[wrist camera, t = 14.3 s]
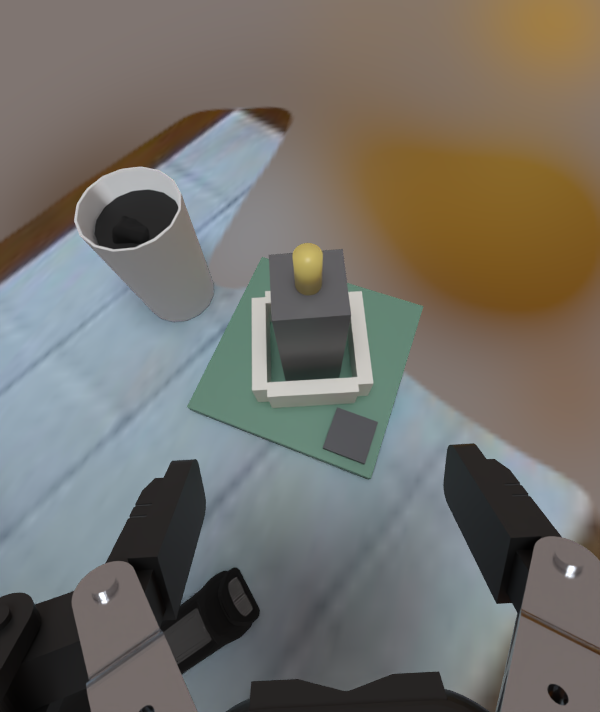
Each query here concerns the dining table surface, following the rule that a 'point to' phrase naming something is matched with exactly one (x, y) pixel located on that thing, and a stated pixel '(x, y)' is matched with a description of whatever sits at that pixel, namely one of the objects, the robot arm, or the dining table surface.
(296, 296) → the plug
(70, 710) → the electric trimmer
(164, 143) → the dining table surface
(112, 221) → the grey cup
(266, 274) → the circuit board
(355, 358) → the socket
